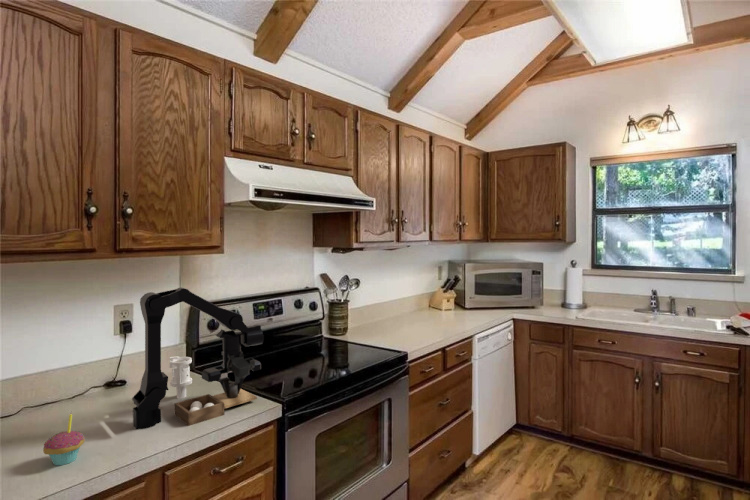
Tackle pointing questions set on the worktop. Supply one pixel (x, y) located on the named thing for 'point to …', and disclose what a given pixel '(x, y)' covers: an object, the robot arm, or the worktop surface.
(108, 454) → the worktop surface
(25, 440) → the worktop surface
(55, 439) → the cupcake
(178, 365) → the white tall flanged cylinder
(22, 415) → the worktop surface
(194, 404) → the egg
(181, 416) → the box
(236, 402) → the lid
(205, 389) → the worktop surface
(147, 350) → the robot arm
